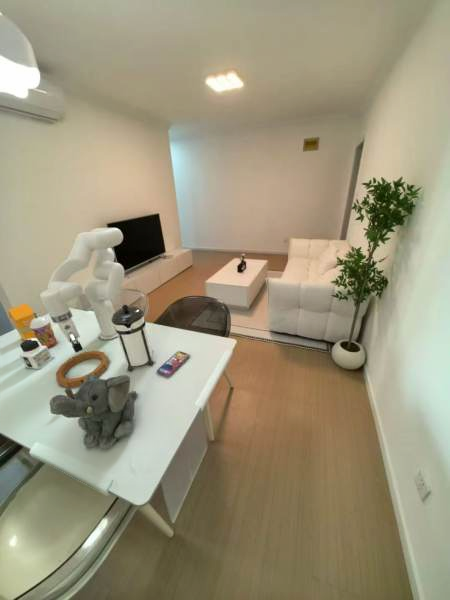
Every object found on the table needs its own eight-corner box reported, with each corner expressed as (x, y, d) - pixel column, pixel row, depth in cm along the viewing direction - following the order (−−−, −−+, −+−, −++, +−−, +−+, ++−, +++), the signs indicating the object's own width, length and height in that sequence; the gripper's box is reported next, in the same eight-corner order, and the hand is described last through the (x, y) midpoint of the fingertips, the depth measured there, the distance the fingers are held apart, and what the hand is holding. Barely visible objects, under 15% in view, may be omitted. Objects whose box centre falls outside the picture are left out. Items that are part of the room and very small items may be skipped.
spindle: (77, 394, 92) (72, 383, 89) (80, 400, 89) (74, 389, 86) (66, 400, 89) (60, 389, 87) (68, 406, 87) (62, 395, 84)
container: (39, 369, 107) (26, 347, 101) (26, 367, 108) (13, 345, 102) (53, 358, 113) (42, 336, 108) (40, 356, 115) (29, 335, 109)
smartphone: (156, 372, 100) (178, 352, 112) (169, 377, 97) (190, 356, 108) (156, 370, 100) (178, 350, 111) (168, 375, 96) (190, 354, 108)
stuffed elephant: (82, 471, 66) (43, 407, 54) (82, 416, 83) (53, 357, 71) (148, 437, 74) (128, 375, 62) (136, 393, 91) (119, 337, 79)
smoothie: (39, 351, 119) (22, 319, 110) (42, 343, 126) (26, 312, 117) (58, 346, 122) (42, 314, 113) (60, 338, 129) (45, 307, 120)
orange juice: (21, 338, 131) (4, 308, 122) (39, 330, 138) (24, 301, 129) (27, 342, 127) (10, 311, 118) (45, 334, 134) (30, 304, 125)
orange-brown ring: (100, 350, 117) (99, 345, 116) (114, 369, 103) (112, 364, 102) (55, 370, 105) (52, 365, 104) (63, 395, 92) (60, 390, 90)
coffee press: (164, 354, 111) (152, 299, 98) (139, 376, 99) (121, 316, 85) (139, 345, 119) (124, 293, 106) (113, 364, 106) (93, 308, 93)
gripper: (75, 319, 96) (90, 350, 105) (67, 306, 108) (80, 334, 116) (55, 327, 92) (72, 359, 100) (48, 312, 104) (64, 341, 112)
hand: (76, 346), depth 108 cm, fingers open, 9 cm apart
